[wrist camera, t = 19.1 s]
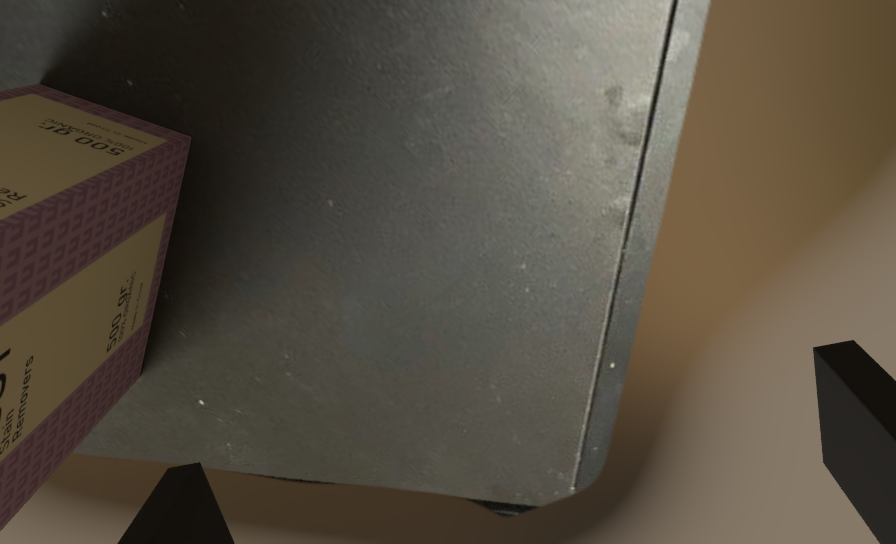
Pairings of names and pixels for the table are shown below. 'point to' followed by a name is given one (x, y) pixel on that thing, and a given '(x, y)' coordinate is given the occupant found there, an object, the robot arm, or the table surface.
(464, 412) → the table surface
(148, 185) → the box
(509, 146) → the table surface
